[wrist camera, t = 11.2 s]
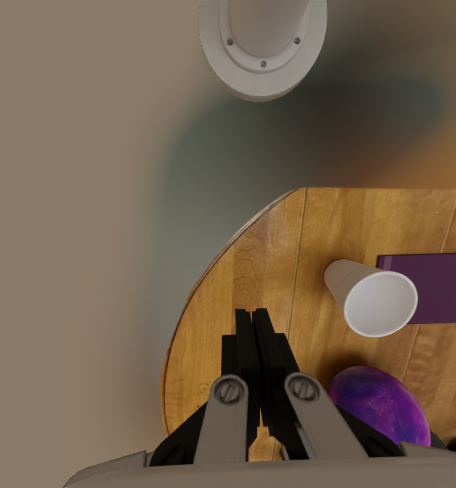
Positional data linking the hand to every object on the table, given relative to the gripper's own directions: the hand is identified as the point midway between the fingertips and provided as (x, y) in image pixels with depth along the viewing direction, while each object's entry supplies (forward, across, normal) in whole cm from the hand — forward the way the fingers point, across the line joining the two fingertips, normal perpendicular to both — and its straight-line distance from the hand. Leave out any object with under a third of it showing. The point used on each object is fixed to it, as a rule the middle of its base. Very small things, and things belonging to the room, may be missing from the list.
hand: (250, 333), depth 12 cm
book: (+27, -35, +12) cm, 46 cm away
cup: (+27, -19, +8) cm, 34 cm away
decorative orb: (+27, -24, +32) cm, 48 cm away
